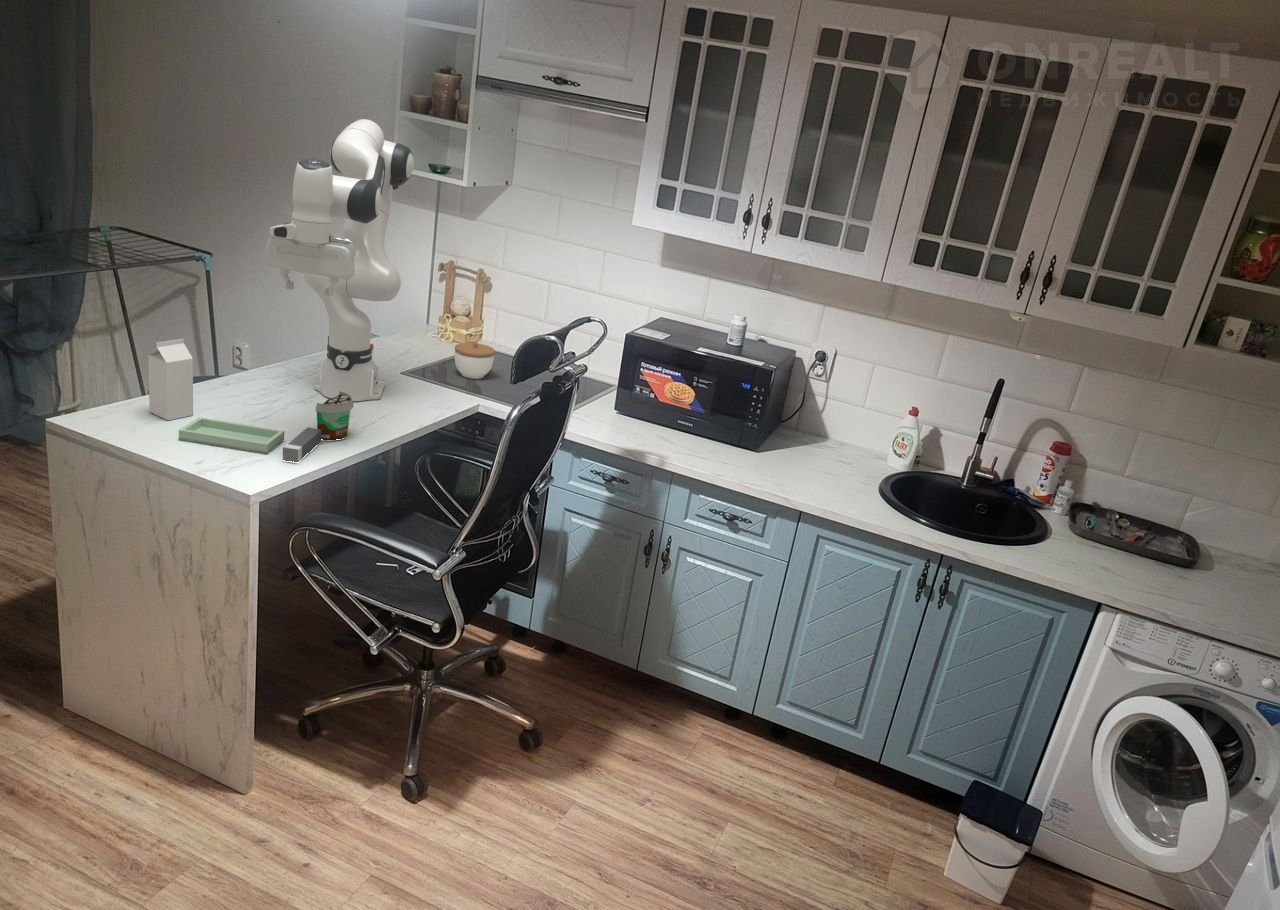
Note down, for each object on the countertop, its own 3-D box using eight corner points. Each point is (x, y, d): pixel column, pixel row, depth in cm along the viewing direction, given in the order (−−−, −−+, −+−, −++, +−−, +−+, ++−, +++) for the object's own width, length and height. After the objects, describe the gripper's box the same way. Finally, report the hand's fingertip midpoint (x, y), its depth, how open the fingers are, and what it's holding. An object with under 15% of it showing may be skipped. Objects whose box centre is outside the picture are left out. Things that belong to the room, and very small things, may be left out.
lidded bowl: (445, 371, 306) (447, 337, 303) (478, 368, 315) (481, 336, 311) (466, 383, 298) (469, 349, 294) (499, 379, 307) (503, 346, 303)
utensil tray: (199, 426, 233) (199, 417, 232) (284, 440, 233) (284, 430, 232) (178, 440, 224) (178, 430, 223) (267, 454, 224) (267, 444, 223)
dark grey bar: (306, 440, 236) (307, 426, 234) (321, 442, 236) (322, 428, 234) (282, 461, 222) (282, 446, 220) (298, 464, 222) (298, 449, 220)
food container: (337, 446, 235) (338, 408, 231) (314, 441, 236) (315, 403, 232) (360, 432, 246) (362, 395, 243) (338, 427, 247) (340, 390, 243)
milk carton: (193, 415, 239) (192, 342, 233) (167, 421, 233) (166, 346, 227) (175, 407, 242) (174, 335, 236) (149, 413, 236) (147, 338, 230)
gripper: (360, 238, 223) (357, 297, 227) (274, 224, 223) (272, 283, 227) (351, 241, 217) (348, 301, 221) (262, 227, 217) (261, 287, 221)
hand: (309, 292), depth 224 cm, fingers open, 8 cm apart
